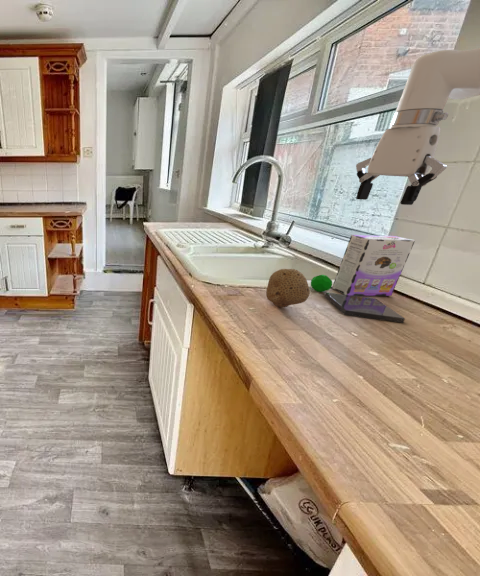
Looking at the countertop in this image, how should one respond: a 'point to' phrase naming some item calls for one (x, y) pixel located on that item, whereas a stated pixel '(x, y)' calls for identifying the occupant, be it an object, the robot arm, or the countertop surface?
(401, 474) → the countertop surface
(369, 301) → the board
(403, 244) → the candy box
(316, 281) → the polyhedron
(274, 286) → the natural sponge
